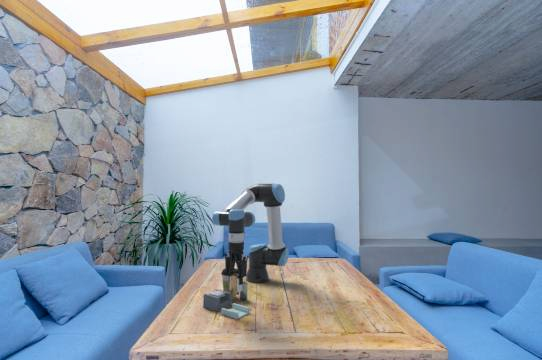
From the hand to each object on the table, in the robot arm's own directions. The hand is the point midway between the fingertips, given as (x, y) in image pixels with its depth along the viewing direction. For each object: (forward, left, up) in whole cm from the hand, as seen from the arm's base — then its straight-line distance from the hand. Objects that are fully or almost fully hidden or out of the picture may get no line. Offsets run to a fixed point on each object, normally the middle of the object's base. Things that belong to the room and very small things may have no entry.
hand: (235, 290), depth 151 cm
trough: (0, 0, -11) cm, 11 cm away
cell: (0, 0, -2) cm, 2 cm away
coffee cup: (-16, -18, -12) cm, 27 cm away
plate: (-2, -14, -6) cm, 15 cm away
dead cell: (-17, -9, -11) cm, 22 cm away
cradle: (-2, -14, -11) cm, 18 cm away
